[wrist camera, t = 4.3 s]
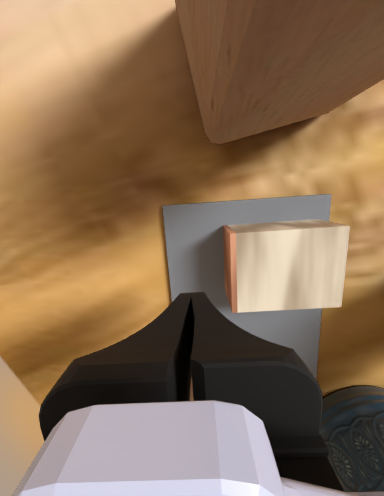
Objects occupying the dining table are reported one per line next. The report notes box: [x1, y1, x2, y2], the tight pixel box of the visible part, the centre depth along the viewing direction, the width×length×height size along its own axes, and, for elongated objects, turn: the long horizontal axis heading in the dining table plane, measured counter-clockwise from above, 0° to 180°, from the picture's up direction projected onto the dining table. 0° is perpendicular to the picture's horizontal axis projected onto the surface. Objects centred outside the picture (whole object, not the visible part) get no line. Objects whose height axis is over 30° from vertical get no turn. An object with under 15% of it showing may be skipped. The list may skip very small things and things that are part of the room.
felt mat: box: [162, 194, 331, 379], centre depth 21 cm, size 14×20×1 cm
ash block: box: [223, 219, 350, 313], centre depth 17 cm, size 4×6×8 cm
